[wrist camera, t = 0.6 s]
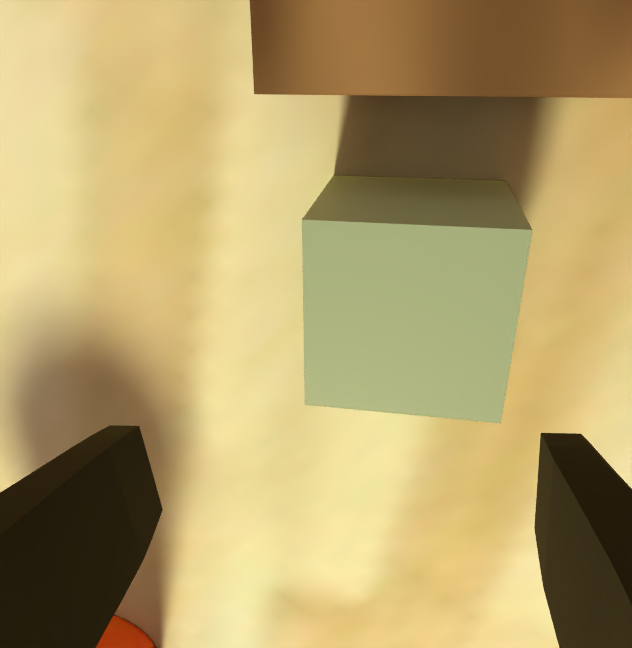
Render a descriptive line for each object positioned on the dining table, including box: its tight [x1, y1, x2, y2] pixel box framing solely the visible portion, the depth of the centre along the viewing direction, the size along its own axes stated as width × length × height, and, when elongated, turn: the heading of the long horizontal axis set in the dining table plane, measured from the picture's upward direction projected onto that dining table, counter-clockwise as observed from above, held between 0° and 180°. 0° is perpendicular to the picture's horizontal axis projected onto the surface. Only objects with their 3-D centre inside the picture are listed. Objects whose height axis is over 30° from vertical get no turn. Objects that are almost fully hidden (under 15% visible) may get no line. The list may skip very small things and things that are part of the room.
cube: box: [302, 175, 532, 423], centre depth 16 cm, size 5×5×5 cm
